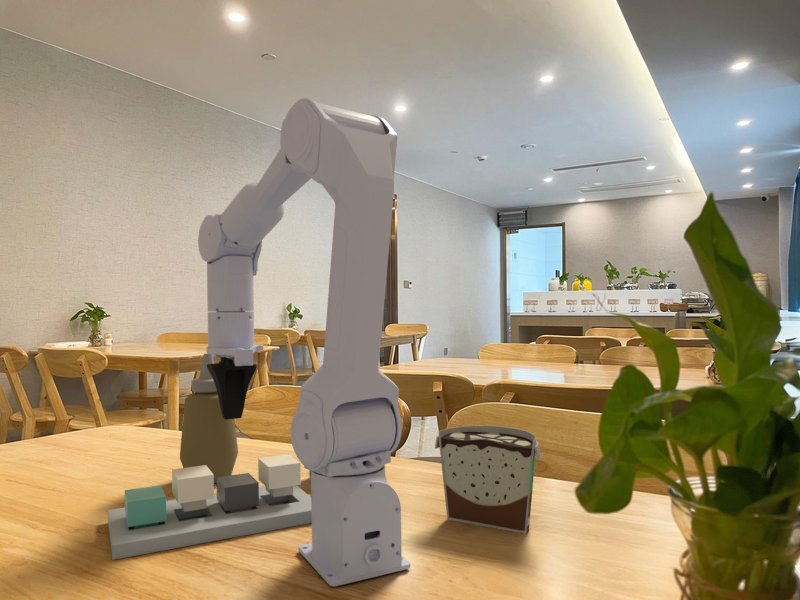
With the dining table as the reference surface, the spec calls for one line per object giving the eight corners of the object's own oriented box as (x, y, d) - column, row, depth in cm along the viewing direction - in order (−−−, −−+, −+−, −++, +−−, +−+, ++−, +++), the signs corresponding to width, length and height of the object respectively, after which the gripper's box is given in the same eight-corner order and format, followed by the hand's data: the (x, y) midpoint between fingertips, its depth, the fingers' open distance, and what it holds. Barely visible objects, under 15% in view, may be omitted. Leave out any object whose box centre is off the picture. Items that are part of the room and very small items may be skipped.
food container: (556, 518, 70) (555, 430, 70) (540, 536, 64) (538, 441, 64) (458, 502, 76) (457, 421, 76) (435, 517, 71) (434, 430, 71)
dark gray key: (259, 515, 70) (258, 482, 70) (225, 521, 68) (224, 487, 68) (249, 504, 74) (248, 472, 74) (217, 509, 73) (216, 477, 73)
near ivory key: (300, 494, 72) (300, 462, 72) (269, 500, 71) (268, 467, 71) (288, 484, 77) (288, 454, 77) (258, 489, 75) (258, 458, 75)
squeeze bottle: (167, 486, 84) (165, 356, 85) (200, 470, 92) (198, 351, 92) (220, 489, 82) (218, 356, 83) (248, 473, 90) (247, 351, 90)
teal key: (166, 531, 66) (166, 496, 66) (127, 538, 64) (127, 502, 64) (161, 518, 70) (161, 485, 70) (125, 524, 68) (124, 490, 68)
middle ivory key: (214, 508, 68) (213, 474, 68) (178, 514, 66) (177, 479, 66) (206, 497, 72) (206, 465, 72) (172, 502, 70) (172, 469, 70)
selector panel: (324, 520, 70) (324, 508, 70) (112, 559, 60) (112, 545, 60) (292, 492, 81) (292, 481, 81) (108, 522, 70) (107, 509, 71)
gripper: (277, 311, 74) (279, 424, 74) (248, 311, 87) (249, 407, 86) (217, 312, 70) (219, 430, 70) (196, 312, 83) (198, 411, 83)
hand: (232, 418), depth 78 cm, fingers closed
